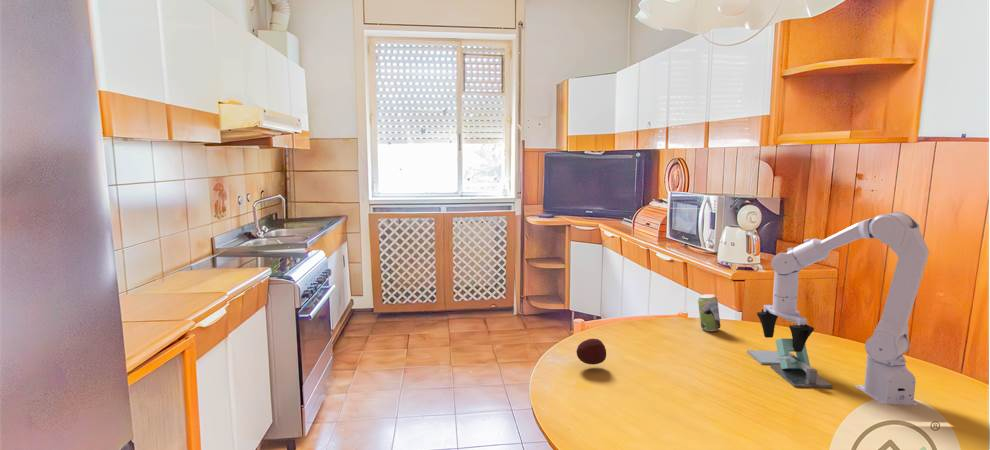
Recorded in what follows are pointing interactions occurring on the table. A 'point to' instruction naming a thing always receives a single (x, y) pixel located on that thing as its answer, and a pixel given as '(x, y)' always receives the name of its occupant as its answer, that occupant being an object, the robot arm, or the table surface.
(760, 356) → the mat
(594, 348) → the dark brown ball
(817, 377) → the stand
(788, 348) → the c link
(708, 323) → the beverage can
